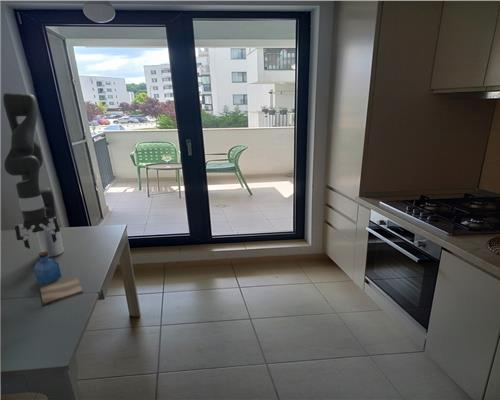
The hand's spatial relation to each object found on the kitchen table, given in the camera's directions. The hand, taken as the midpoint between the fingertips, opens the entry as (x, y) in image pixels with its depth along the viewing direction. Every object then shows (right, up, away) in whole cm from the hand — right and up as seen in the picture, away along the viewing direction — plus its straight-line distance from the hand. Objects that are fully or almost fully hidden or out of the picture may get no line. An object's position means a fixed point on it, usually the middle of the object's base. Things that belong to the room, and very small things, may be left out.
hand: (41, 245), depth 120 cm
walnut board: (+11, -17, -4) cm, 21 cm away
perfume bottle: (0, -15, +5) cm, 16 cm away
